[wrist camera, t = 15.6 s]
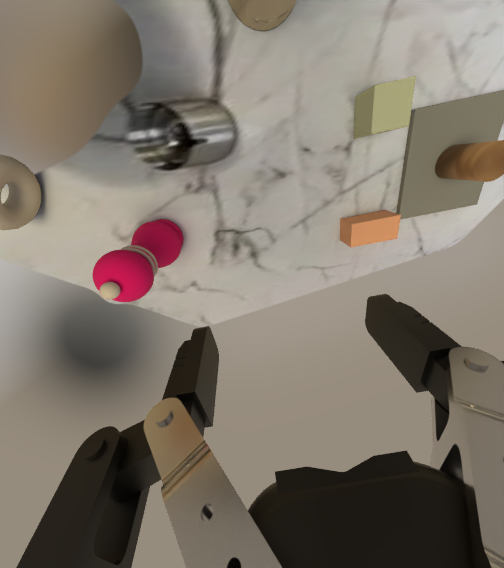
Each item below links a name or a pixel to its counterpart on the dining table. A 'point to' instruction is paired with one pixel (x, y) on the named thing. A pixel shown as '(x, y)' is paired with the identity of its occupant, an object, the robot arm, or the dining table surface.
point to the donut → (18, 194)
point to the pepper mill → (138, 261)
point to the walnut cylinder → (472, 161)
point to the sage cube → (384, 107)
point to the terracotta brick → (369, 228)
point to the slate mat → (434, 140)
